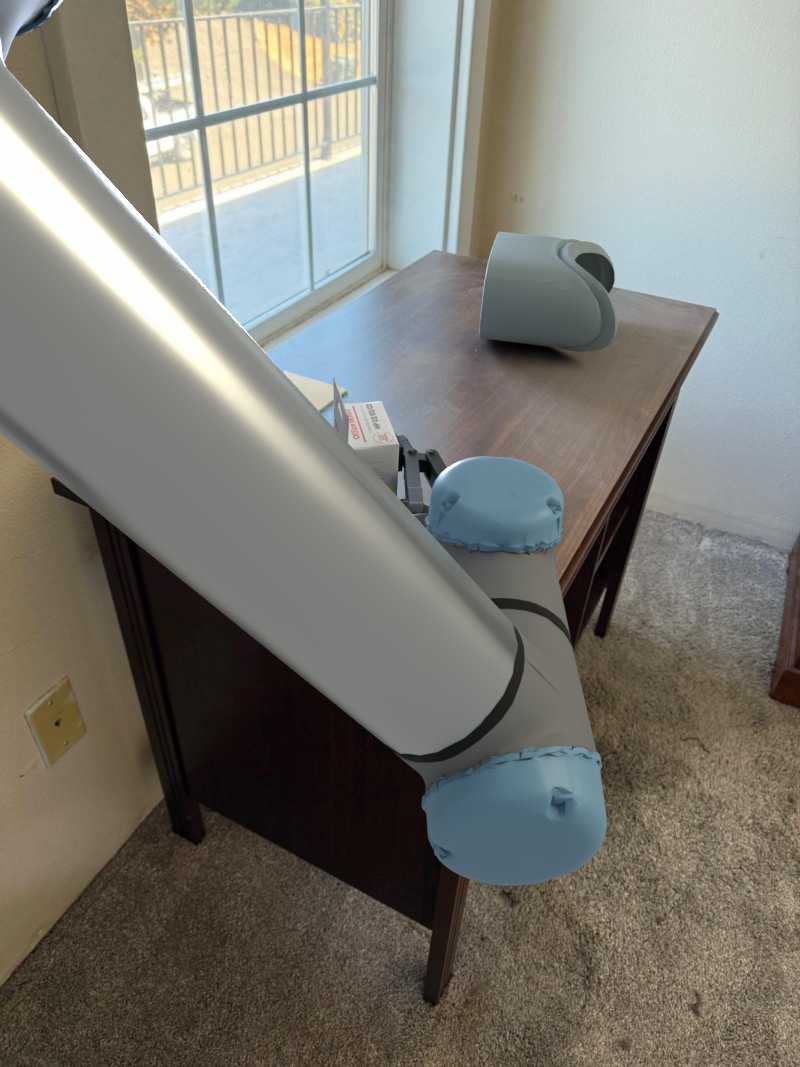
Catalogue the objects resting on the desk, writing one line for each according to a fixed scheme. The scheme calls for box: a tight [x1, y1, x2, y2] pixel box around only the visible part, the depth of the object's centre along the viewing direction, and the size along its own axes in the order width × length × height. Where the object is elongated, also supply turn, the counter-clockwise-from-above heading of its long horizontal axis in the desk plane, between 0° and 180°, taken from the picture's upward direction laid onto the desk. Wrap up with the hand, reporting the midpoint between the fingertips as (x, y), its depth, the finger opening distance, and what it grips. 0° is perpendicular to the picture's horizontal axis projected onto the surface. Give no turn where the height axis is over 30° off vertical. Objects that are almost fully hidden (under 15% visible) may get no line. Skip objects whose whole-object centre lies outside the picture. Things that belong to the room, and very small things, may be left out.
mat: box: [283, 370, 348, 413], centre depth 93 cm, size 18×10×1 cm, turn 151°
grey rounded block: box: [478, 231, 619, 353], centre depth 111 cm, size 22×19×13 cm
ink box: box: [332, 376, 399, 497], centre depth 71 cm, size 8×5×15 cm, turn 13°
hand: (351, 429), depth 75 cm, fingers closed on ink box, 5 cm apart
